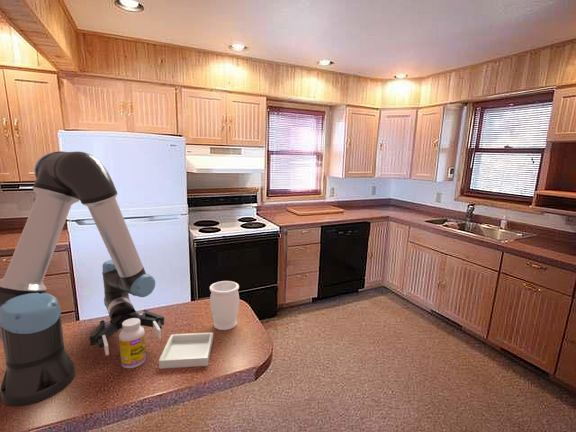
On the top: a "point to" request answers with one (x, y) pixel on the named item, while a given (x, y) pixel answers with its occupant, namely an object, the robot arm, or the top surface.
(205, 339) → the tray
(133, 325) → the supplement bottle
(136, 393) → the top surface
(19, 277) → the robot arm
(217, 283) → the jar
